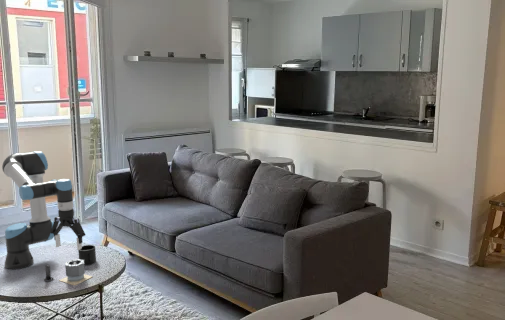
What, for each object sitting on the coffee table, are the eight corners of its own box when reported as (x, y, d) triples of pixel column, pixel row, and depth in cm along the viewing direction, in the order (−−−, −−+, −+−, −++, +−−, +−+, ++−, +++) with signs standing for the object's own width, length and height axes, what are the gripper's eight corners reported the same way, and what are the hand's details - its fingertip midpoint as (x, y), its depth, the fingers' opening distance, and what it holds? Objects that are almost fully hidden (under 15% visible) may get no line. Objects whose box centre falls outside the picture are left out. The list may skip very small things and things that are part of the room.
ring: (66, 277, 254) (65, 267, 253) (66, 271, 263) (65, 260, 262) (84, 275, 257) (84, 264, 256) (84, 268, 266) (83, 258, 265)
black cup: (82, 268, 275) (81, 253, 274) (77, 261, 285) (76, 247, 284) (99, 264, 281) (98, 249, 279) (93, 258, 290) (92, 243, 289)
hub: (59, 280, 259) (57, 264, 257) (77, 272, 269) (76, 257, 267) (74, 285, 253) (73, 269, 251) (92, 277, 263) (91, 261, 261)
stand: (41, 280, 259) (40, 266, 258) (49, 277, 263) (48, 263, 262) (47, 282, 257) (46, 268, 255) (55, 279, 261) (54, 265, 259)
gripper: (41, 208, 252) (44, 247, 255) (81, 212, 244) (84, 252, 248) (51, 205, 259) (54, 242, 262) (90, 208, 251) (93, 247, 255)
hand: (68, 247), depth 255 cm, fingers open, 13 cm apart
